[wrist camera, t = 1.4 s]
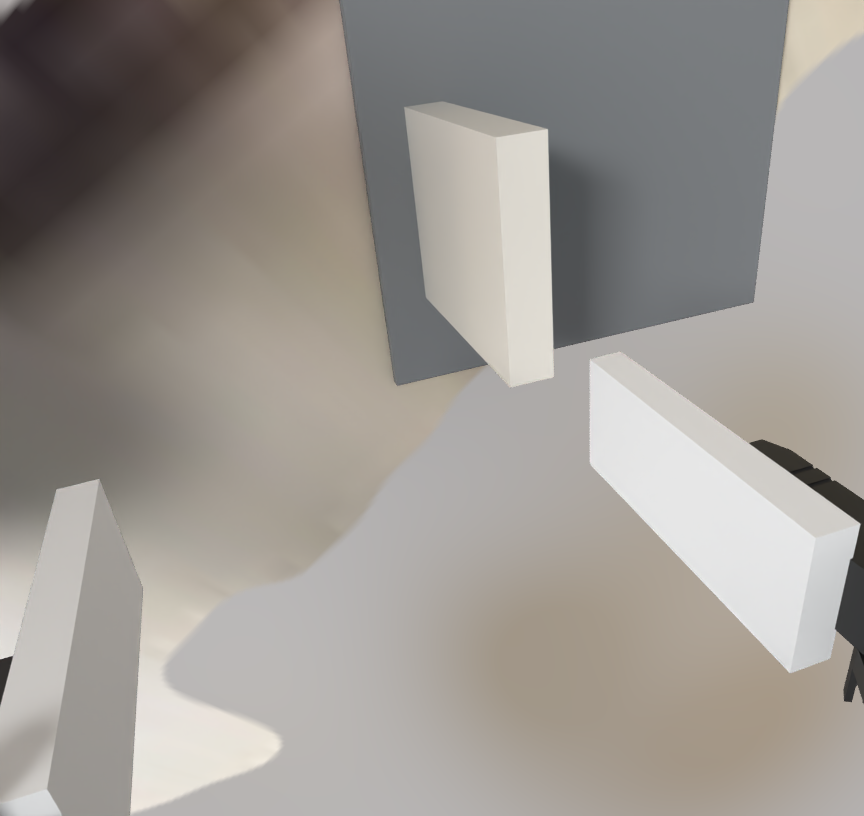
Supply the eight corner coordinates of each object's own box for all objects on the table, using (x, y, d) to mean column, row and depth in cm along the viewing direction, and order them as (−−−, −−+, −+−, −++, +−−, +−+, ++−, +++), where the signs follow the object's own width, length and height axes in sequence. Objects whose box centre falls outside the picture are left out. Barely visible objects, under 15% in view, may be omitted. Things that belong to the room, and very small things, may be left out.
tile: (425, 297, 37) (510, 387, 28) (404, 106, 32) (496, 137, 23) (462, 290, 37) (557, 376, 28) (445, 100, 33) (552, 128, 24)
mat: (394, 381, 39) (397, 385, 39) (338, -3, 30) (341, -4, 30) (746, 299, 44) (753, 302, 43) (786, -54, 35) (795, -56, 35)
